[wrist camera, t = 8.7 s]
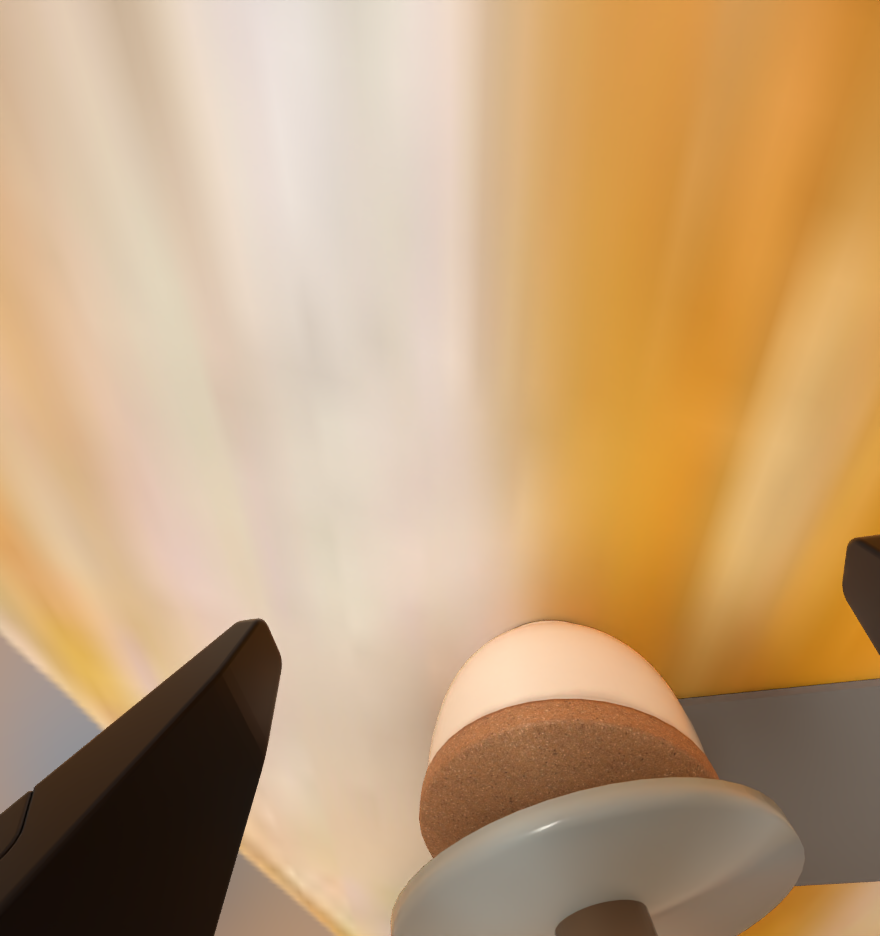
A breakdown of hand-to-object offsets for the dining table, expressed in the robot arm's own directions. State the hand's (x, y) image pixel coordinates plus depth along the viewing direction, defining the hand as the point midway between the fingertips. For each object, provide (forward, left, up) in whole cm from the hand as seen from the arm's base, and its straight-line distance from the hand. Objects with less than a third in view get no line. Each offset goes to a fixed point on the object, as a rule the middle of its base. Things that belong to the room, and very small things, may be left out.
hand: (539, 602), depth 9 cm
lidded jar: (0, +15, -13) cm, 20 cm away
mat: (-10, +26, -13) cm, 31 cm away
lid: (0, +15, -3) cm, 15 cm away
